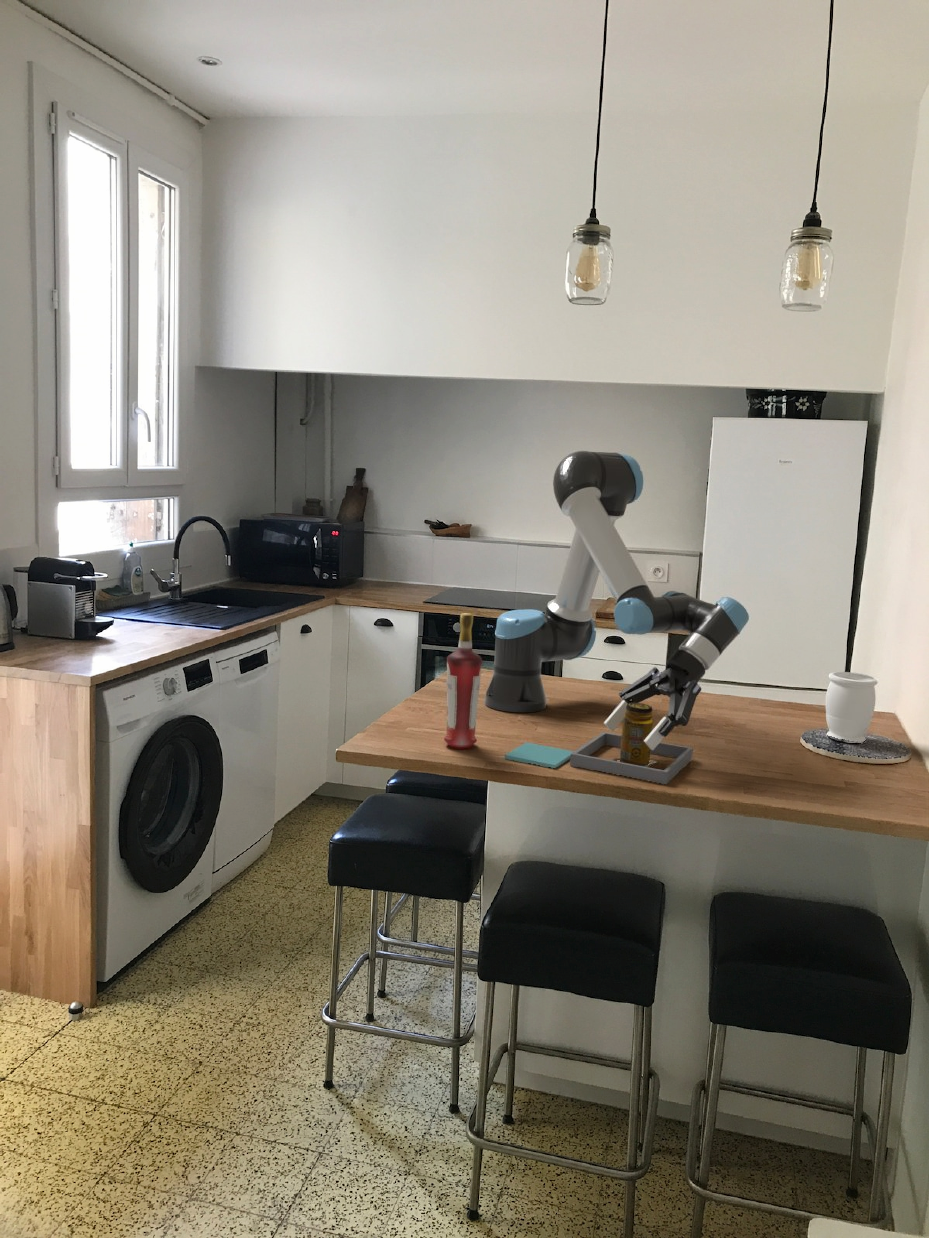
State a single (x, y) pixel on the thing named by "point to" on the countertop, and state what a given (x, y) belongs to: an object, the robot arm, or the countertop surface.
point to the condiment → (636, 735)
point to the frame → (645, 773)
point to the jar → (850, 705)
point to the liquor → (463, 689)
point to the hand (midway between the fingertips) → (627, 736)
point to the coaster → (539, 755)
